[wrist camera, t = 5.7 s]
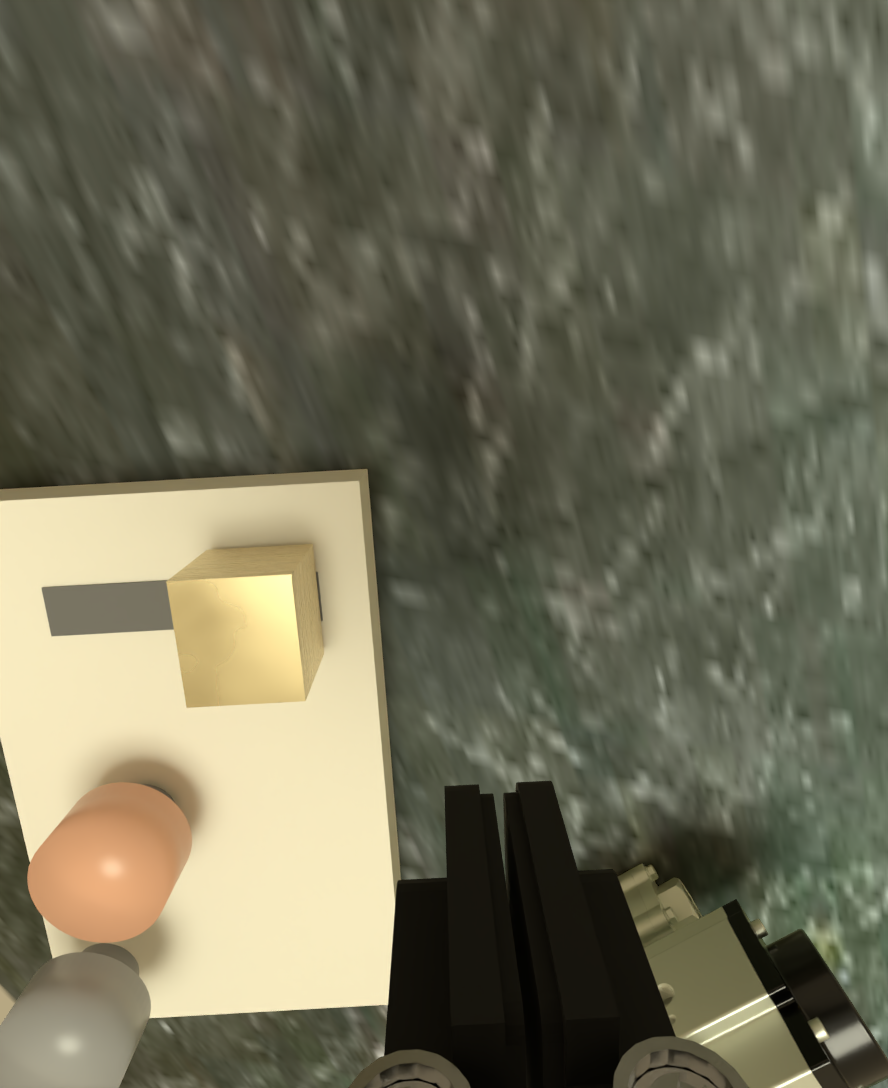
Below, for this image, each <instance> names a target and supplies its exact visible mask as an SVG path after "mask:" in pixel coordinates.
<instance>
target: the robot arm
mask: <svg viewBox="0 0 888 1088" xmlns="http://www.w3.org/2000/svg"><path fill="white" fill-rule="evenodd" d="M503 801H504V835H505V869H506V881H505V874H504V867H503V860H502V853H501V846H500V839H499V832H498V825H497V817H496V810H495V803H494V796H493V794H480V790H479V784H478V785H459V786H445V821H446V859H447V878H431V879H412V880H398V882H397V888H396V900H395V914H394V928H393V942H392V955H391V969H390V983H389V997H388V1011H387V1025H386V1039H385V1053H384V1056H383V1057H380V1058H378V1059H377V1060H375V1061H374V1062H373V1063H371V1064H370V1065H369V1066H367V1067H366V1068H365V1069H363V1070H362V1071H361V1072H360V1073H359V1075H358V1076H357V1077H356V1078H355V1080H354V1081H353V1082H352V1084H351V1085H350V1086H349V1087H348V1088H749V1087H748V1085H747V1084H746V1083H745V1081H744V1080H743V1079H742V1077H741V1076H740V1075H739V1073H738V1072H737V1071H736V1069H735V1068H734V1067H732V1066H731V1065H730V1064H729V1063H728V1062H727V1061H725V1060H724V1059H723V1058H722V1057H721V1056H719V1055H718V1054H717V1053H716V1052H714V1051H712V1050H710V1049H708V1048H706V1047H704V1046H702V1045H700V1044H699V1043H697V1042H695V1041H691V1040H687V1039H682V1038H678V1037H676V1035H675V1033H674V1030H673V1027H672V1024H671V1022H670V1019H669V1016H668V1013H667V1011H666V1008H665V1005H664V1002H663V1000H662V997H661V994H660V991H659V989H658V986H657V983H656V980H655V978H654V975H653V972H652V969H651V967H650V964H649V961H648V958H647V956H646V953H645V950H644V947H643V945H642V942H641V939H640V936H639V934H638V931H637V928H636V925H635V923H634V920H633V917H632V914H631V912H630V909H629V906H628V903H627V901H626V898H625V895H624V892H623V890H622V887H621V884H620V881H619V879H618V877H617V875H616V873H615V871H614V870H613V869H606V870H587V871H578V870H577V867H576V863H575V860H574V856H573V853H572V849H571V846H570V842H569V839H568V835H567V832H566V828H565V825H564V821H563V818H562V815H561V811H560V808H559V804H558V801H557V797H556V794H555V790H554V787H553V784H552V782H551V781H537V782H518V783H516V792H513V793H504V796H503Z"/></svg>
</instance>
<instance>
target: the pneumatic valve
mask: <svg viewBox="0 0 888 1088" xmlns="http://www.w3.org/2000/svg"><path fill="white" fill-rule="evenodd" d="M658 878H659V877H658V874H657V872H656V871H655V869H654V867H653V866H652V865H651V864H650V865H648V866H644V864H643V863H642V864H640V865H638V866H636V867H634V868H632V869H631V870H629V871H627V872H625V873H623V874H621V875H620V876H618V879H619V881H620V884H621V887H622V890H623V892H624V895H625V898H626V901H627V903H628V906H629V909H630V912H631V914H632V917H633V920H634V923H635V925H636V928H637V931H638V934H639V936H640V939H641V942H642V945H643V947H644V950H645V953H646V956H647V958H648V961H649V964H650V967H651V969H652V972H653V975H654V978H655V980H656V983H657V986H658V989H659V991H660V994H661V997H662V1000H663V1002H664V1005H665V1008H666V1011H667V1013H668V1016H669V1019H670V1022H671V1024H672V1027H673V1030H674V1033H675V1035H676V1037H678V1038H682V1039H687V1040H691V1041H695V1042H697V1043H699V1044H700V1045H702V1046H704V1047H706V1048H708V1049H710V1050H712V1051H714V1052H716V1053H717V1054H718V1055H719V1056H721V1057H722V1058H723V1059H724V1060H725V1061H727V1062H728V1063H729V1064H730V1065H731V1066H732V1067H734V1068H735V1069H736V1071H737V1072H738V1073H739V1075H740V1076H741V1077H742V1079H743V1080H744V1081H745V1083H746V1084H747V1085H748V1087H749V1088H869V1087H871V1086H873V1085H875V1084H877V1083H879V1082H882V1081H884V1080H886V1079H888V1058H887V1057H886V1055H885V1054H884V1052H883V1050H882V1049H881V1047H880V1046H879V1044H878V1043H877V1041H876V1040H875V1038H874V1036H873V1035H872V1033H871V1032H870V1030H869V1029H868V1027H867V1026H866V1024H865V1022H864V1021H863V1019H862V1018H861V1016H860V1015H859V1013H858V1012H857V1010H856V1009H855V1007H854V1005H853V1004H852V1002H851V1001H850V999H849V998H848V996H847V995H846V993H845V992H844V990H843V989H842V987H841V986H840V984H839V982H838V981H837V979H836V978H835V976H834V975H833V973H832V972H831V970H830V969H829V967H828V966H827V964H826V963H825V961H824V960H823V958H822V957H821V955H820V954H819V952H818V951H817V949H816V948H815V946H814V945H813V943H812V942H811V940H810V939H809V937H808V936H807V934H806V933H805V932H804V930H802V929H798V930H796V931H794V932H792V933H790V934H788V935H786V936H785V937H783V938H781V939H779V940H777V941H775V942H773V943H771V944H769V945H766V944H765V942H764V941H763V939H762V938H763V937H765V936H767V935H768V932H767V930H766V929H765V927H764V926H763V924H762V922H761V921H760V919H756V920H754V921H752V922H751V921H750V919H749V918H748V916H747V915H746V913H745V912H744V910H743V909H742V907H741V906H740V904H739V903H738V901H737V899H735V900H734V901H732V902H730V903H728V904H726V905H724V906H722V907H720V908H718V909H716V910H715V911H713V912H711V913H709V914H707V915H705V916H703V917H702V915H701V913H700V911H699V909H698V907H697V906H696V904H695V902H694V900H693V899H692V897H691V895H690V894H689V892H688V891H687V889H686V887H685V886H684V884H683V883H682V882H681V880H680V879H678V878H675V877H674V878H672V879H670V880H669V881H667V882H665V883H663V884H661V885H659V886H657V884H656V883H655V880H656V879H658Z"/></svg>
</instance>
